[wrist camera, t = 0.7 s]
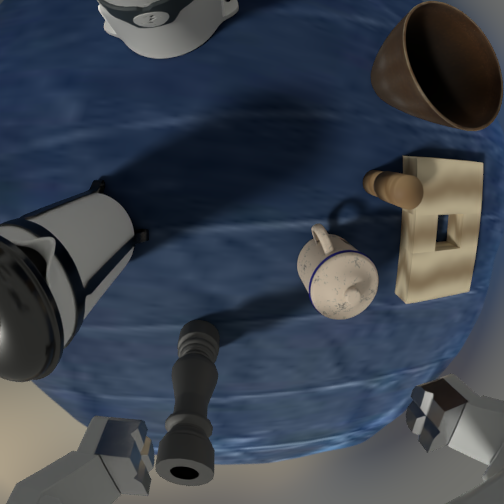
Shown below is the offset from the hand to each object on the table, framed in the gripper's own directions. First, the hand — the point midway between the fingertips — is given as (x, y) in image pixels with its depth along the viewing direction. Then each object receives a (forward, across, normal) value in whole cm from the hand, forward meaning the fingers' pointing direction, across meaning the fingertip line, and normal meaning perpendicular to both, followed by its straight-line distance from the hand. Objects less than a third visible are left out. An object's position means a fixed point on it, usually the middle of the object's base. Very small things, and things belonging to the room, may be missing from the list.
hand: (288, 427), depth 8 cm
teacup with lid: (+36, -12, +3) cm, 38 cm away
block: (+34, -32, 0) cm, 47 cm away
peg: (+34, -20, -7) cm, 40 cm away
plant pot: (+33, -24, -22) cm, 46 cm away
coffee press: (+36, +20, -1) cm, 41 cm away
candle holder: (+38, +6, +16) cm, 41 cm away
